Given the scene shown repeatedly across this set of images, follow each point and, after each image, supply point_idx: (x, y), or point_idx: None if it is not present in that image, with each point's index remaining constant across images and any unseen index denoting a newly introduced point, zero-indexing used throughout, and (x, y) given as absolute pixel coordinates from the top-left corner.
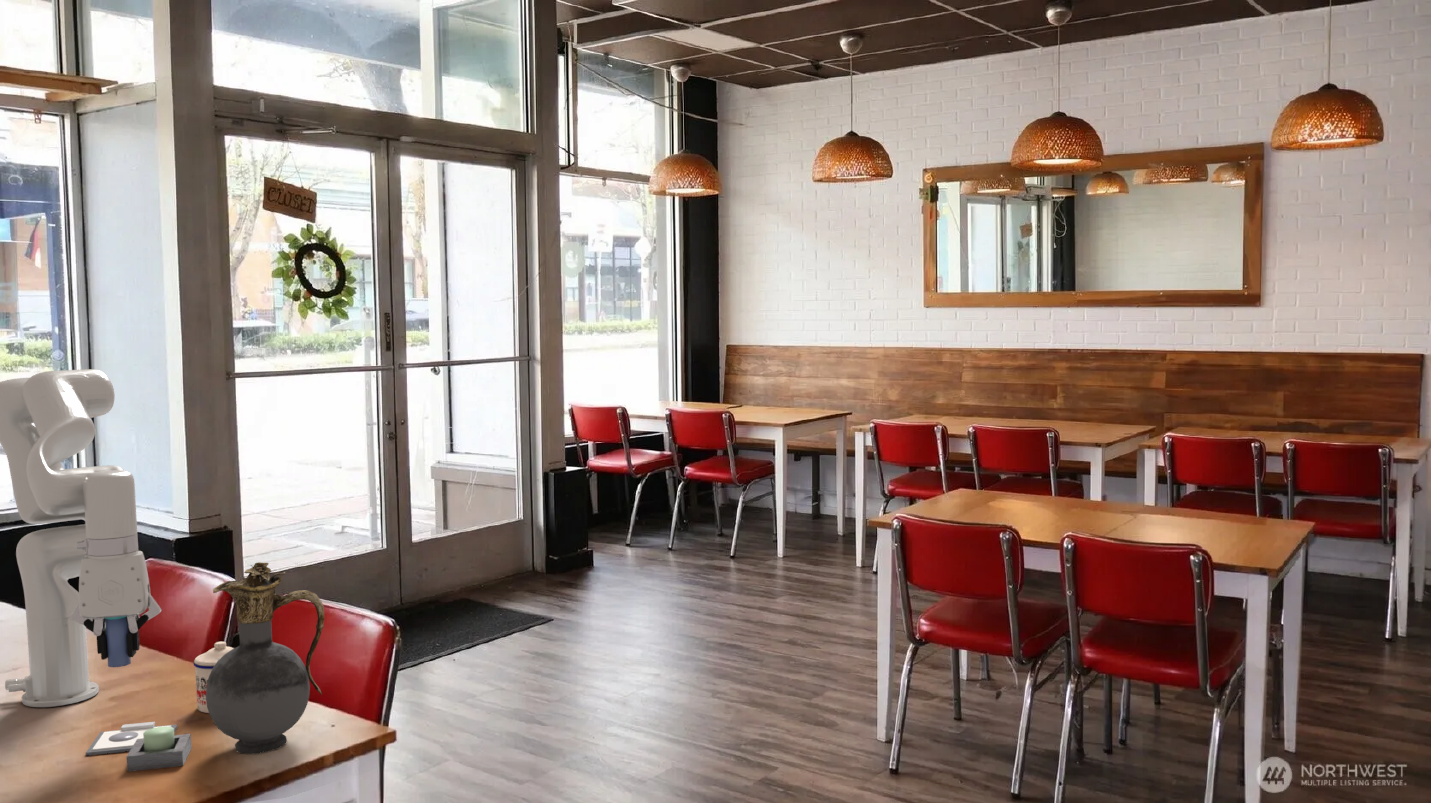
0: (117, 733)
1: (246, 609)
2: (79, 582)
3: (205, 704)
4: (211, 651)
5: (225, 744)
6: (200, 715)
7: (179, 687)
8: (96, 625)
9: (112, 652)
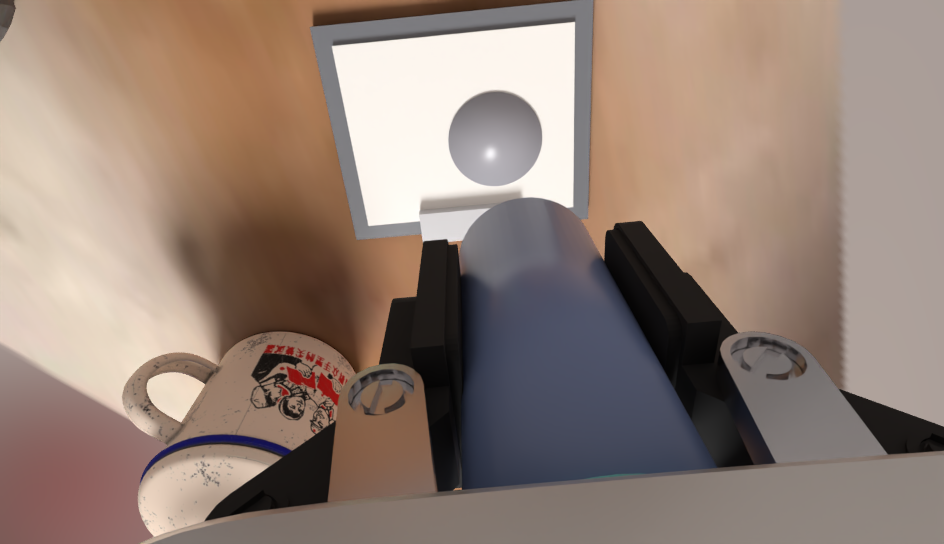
0: (525, 181)
1: None
2: None
3: (309, 353)
4: None
5: (92, 14)
6: (328, 326)
7: None
8: (828, 418)
9: (568, 246)
